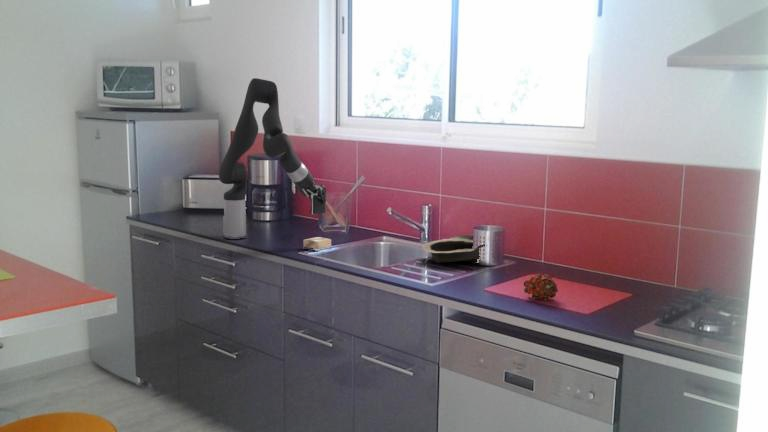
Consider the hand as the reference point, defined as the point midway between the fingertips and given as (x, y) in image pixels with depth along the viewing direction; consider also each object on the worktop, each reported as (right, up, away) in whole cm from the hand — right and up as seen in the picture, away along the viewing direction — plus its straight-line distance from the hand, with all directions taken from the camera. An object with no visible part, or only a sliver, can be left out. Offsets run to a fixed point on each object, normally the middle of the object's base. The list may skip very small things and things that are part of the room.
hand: (320, 201), depth 292 cm
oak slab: (-1, -19, +1) cm, 19 cm away
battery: (-1, -5, -1) cm, 5 cm away
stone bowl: (+52, -23, -20) cm, 61 cm away
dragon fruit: (+74, -31, -71) cm, 107 cm away
